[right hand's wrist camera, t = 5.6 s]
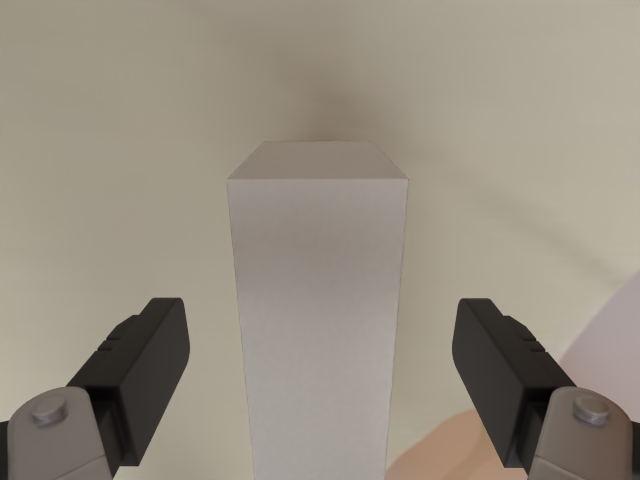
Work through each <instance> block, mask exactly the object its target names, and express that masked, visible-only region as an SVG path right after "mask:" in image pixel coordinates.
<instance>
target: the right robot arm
mask: <svg viewBox="0 0 640 480" xmlns="http://www.w3.org/2000/svg"><path fill="white" fill-rule="evenodd" d="M189 353H190V342H189V335H188V328H187V322H186V315H185V308H184V303H183V300H182V299H181V298H153V299H151V300H150V302H149V303H148V304H147V306H146V307H145V308H144V309H143V311H142V312H141V313H140V314H139V315H132V316H131V317H129V318H128V319H126V320H125V321H123V322H122V323H120V324H119V325H117V326H116V327H115V328H114V330H113V331H112V332H111V333H110V334H109V335H108V337H107V338H106V340H104V341H103V343H102V344H101V345H100V346H99V347H98V350H97V351H95V352H94V353H93V354H92V356H91V357H90V358H89V359H88V360H87V362H86V363H85V364H84V365H83V366H82V367H81V369H80V370H79V371H78V372H77V373H76V375H75V376H74V377H73V378H72V379H71V381H70V382H69V383H68V384H67V385H66V386H65V387H60V388H56V389H52V390H49V391H47V392H44V393H42V394H40V395H38V396H36V397H34V398H32V399H31V400H29V401H27V402H26V403H25V404H23V405H22V406H21V407H20V408H19V409H18V410H17V411H16V412H15V413H14V414H13V415H12V417H11V419H10V420H9V421H5V422H0V480H113V478H114V476H115V474H116V472H117V470H118V468H119V466H139V464H140V462H141V460H142V458H143V456H144V454H145V452H146V449H147V447H148V445H149V443H150V441H151V439H152V437H153V435H154V433H155V431H156V428H157V426H158V424H159V422H160V420H161V418H162V416H163V414H164V412H165V410H166V407H167V405H168V403H169V401H170V399H171V397H172V395H173V393H174V391H175V389H176V386H177V384H178V382H179V380H180V378H181V376H182V374H183V372H184V370H185V367H186V365H187V363H188V359H189ZM452 354H453V360H454V363H455V366H456V368H457V370H458V372H459V374H460V377H461V379H462V381H463V383H464V385H465V387H466V389H467V391H468V393H469V395H470V397H471V399H472V401H473V404H474V406H475V408H476V410H477V412H478V414H479V416H480V418H481V420H482V422H483V424H484V426H485V428H486V430H487V433H488V435H489V437H490V439H491V441H492V443H493V445H494V447H495V449H496V451H497V453H498V455H499V457H500V460H501V462H502V464H503V466H504V468H524V470H525V471H526V473H527V475H528V479H527V480H640V423H637V422H633V421H631V420H630V419H629V417H628V415H627V414H626V413H625V412H624V411H623V410H622V409H621V408H620V407H619V406H618V405H617V404H615V403H614V402H612V401H611V400H609V399H608V398H606V397H604V396H602V395H600V394H598V393H596V392H593V391H591V390H588V389H584V388H579V387H577V386H576V385H575V384H574V383H573V381H572V380H571V379H570V378H569V377H568V376H567V374H566V373H565V372H564V371H563V370H562V368H561V367H560V366H559V365H558V364H557V363H556V361H555V360H554V359H553V358H552V357H551V356H550V354H549V353H548V352H545V349H544V347H543V346H542V345H541V344H540V343H539V341H536V338H535V337H534V336H533V334H532V333H531V332H530V331H529V330H528V329H527V327H526V326H524V325H523V324H521V323H520V322H518V321H517V320H515V319H514V318H512V317H510V316H503V315H502V313H501V312H500V311H499V310H498V308H497V307H496V306H495V305H494V303H493V302H492V301H491V300H490V299H488V298H462V299H461V300H460V301H459V304H458V309H457V316H456V323H455V329H454V336H453V342H452Z"/></svg>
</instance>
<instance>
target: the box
mask: <svg viewBox="0 0 640 480" xmlns="http://www.w3.org/2000/svg"><path fill="white" fill-rule="evenodd" d="M226 181H227V192H228V202H229V213H230V223H231V234H232V244H233V255H234V265H235V276H236V287H237V297H238V308H239V318H240V329H241V339H242V350H243V360H244V371H245V381H246V392H247V402H248V413H249V423H250V434H251V444H252V455H253V465H254V476H255V480H384V479H385V467H386V454H387V442H388V430H389V417H390V405H391V393H392V380H393V368H394V356H395V343H396V331H397V319H398V306H399V294H400V282H401V269H402V257H403V244H404V232H405V220H406V207H407V195H408V183H409V179H408V178H407V176H406V175H405V174H404V173H403V172H402V171H401V170H400V169H399V168H398V167H397V166H396V165H395V164H394V163H393V162H392V161H391V160H390V159H389V158H388V157H387V156H386V155H385V154H384V153H383V152H382V151H381V150H380V149H379V148H378V147H377V146H376V145H375V144H374V143H373V142H372V141H277V142H263V143H262V144H261V145H260V146H259V147H258V148H257V149H256V150H255V151H254V152H253V153H252V154H251V155H250V156H249V157H248V158H247V159H246V160H245V161H244V162H243V163H242V164H241V165H240V166H239V167H238V168H237V170H236V171H235V172H234V173H233V174H232V175H231V176H230V177H229V178H228V179H227V180H226Z"/></svg>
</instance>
